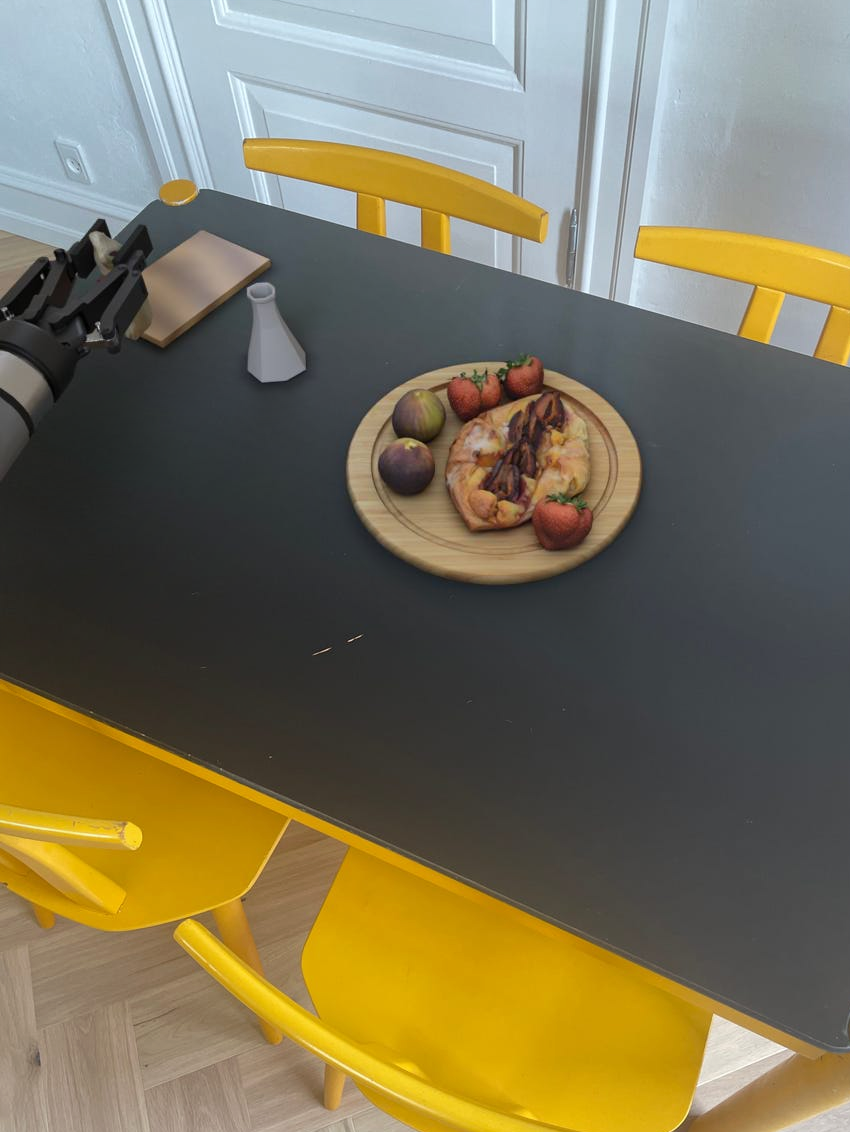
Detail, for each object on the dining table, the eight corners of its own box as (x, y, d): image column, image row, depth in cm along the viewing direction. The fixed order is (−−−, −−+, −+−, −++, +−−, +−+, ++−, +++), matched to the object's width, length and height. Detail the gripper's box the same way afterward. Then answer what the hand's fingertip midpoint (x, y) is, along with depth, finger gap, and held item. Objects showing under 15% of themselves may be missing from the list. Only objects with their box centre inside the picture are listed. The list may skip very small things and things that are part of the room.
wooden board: (163, 348, 108) (160, 341, 107) (93, 313, 111) (90, 306, 111) (271, 266, 117) (269, 259, 116) (203, 236, 121) (201, 229, 120)
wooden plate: (687, 552, 91) (705, 497, 84) (383, 622, 86) (376, 569, 79) (581, 355, 108) (589, 295, 101) (322, 403, 103) (311, 344, 96)
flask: (315, 373, 106) (302, 300, 97) (257, 391, 104) (238, 318, 95) (296, 338, 109) (281, 264, 101) (239, 354, 107) (219, 280, 99)
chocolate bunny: (169, 296, 98) (138, 209, 90) (141, 341, 94) (107, 254, 85) (122, 292, 98) (87, 205, 90) (92, 336, 94) (53, 249, 86)
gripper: (-48, 395, 85) (65, 254, 98) (115, 424, 84) (210, 276, 96) (-89, 330, 79) (38, 188, 92) (87, 359, 77) (192, 210, 90)
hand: (125, 233), depth 94 cm, fingers closed on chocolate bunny, 4 cm apart
